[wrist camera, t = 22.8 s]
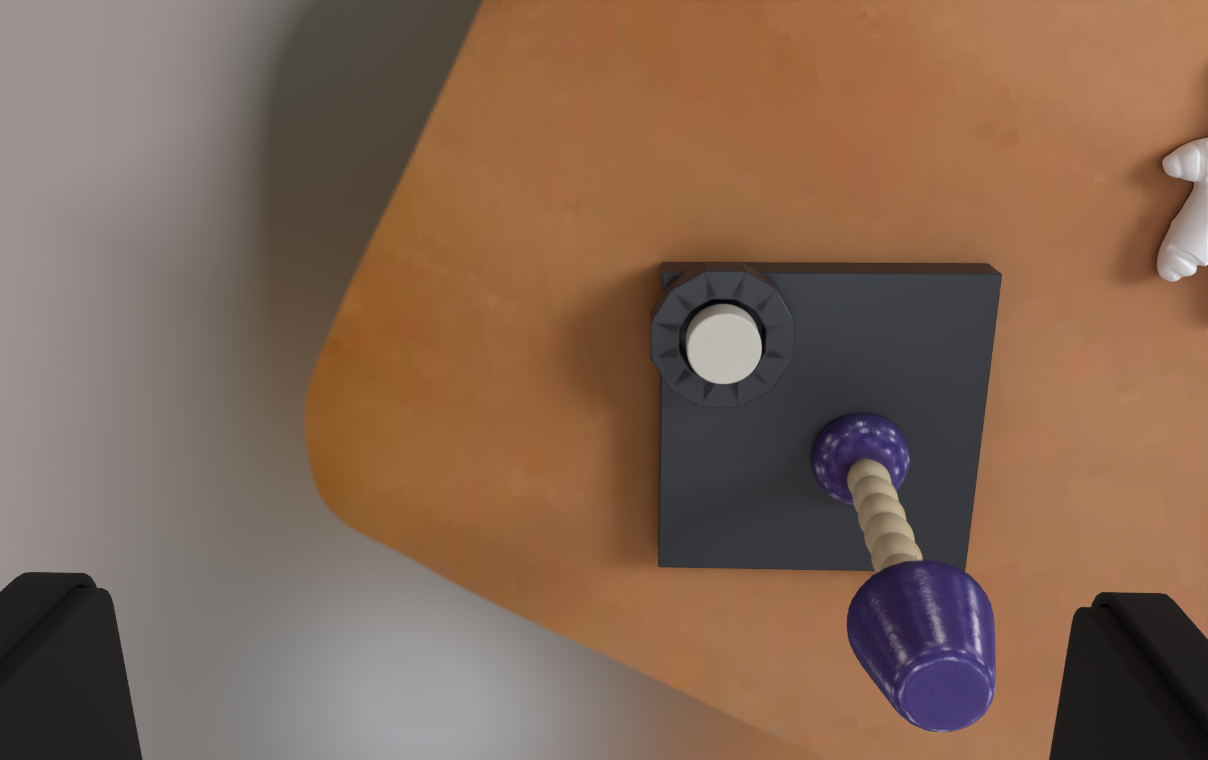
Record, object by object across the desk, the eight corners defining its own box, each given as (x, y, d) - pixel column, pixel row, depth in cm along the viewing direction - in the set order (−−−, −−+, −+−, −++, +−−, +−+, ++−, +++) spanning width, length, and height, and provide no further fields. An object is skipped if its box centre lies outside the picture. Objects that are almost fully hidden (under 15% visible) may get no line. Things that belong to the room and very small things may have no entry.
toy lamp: (866, 525, 47) (969, 783, 32) (777, 479, 47) (838, 718, 31) (927, 440, 46) (1067, 666, 30) (836, 390, 45) (931, 595, 30)
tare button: (684, 372, 44) (685, 384, 43) (686, 302, 43) (687, 313, 42) (756, 372, 44) (760, 385, 42) (759, 303, 43) (763, 313, 41)
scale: (648, 547, 50) (648, 585, 47) (651, 251, 46) (651, 270, 42) (954, 553, 50) (975, 591, 46) (990, 252, 45) (1016, 272, 42)
